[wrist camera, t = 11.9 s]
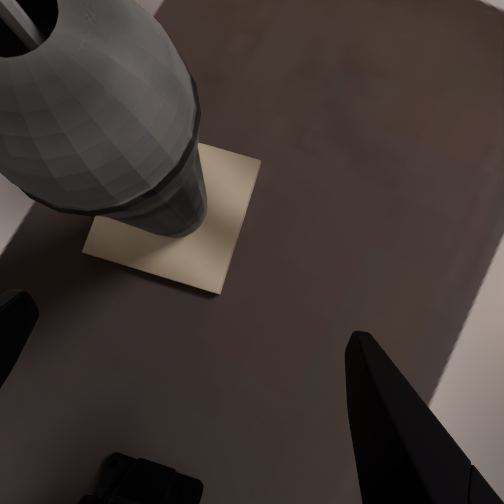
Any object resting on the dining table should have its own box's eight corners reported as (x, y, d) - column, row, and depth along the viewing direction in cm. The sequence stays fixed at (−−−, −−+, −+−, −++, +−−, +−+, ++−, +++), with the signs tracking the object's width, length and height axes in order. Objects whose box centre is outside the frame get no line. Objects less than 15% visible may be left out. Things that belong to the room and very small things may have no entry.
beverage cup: (163, 279, 22) (-756, 98, 2) (104, 197, 23) (-973, -518, 3) (247, 215, 22) (210, -418, 3) (187, 138, 23) (-203, -796, 3)
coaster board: (220, 294, 22) (219, 294, 22) (87, 253, 23) (81, 252, 22) (260, 165, 24) (260, 160, 23) (134, 128, 24) (130, 123, 23)
